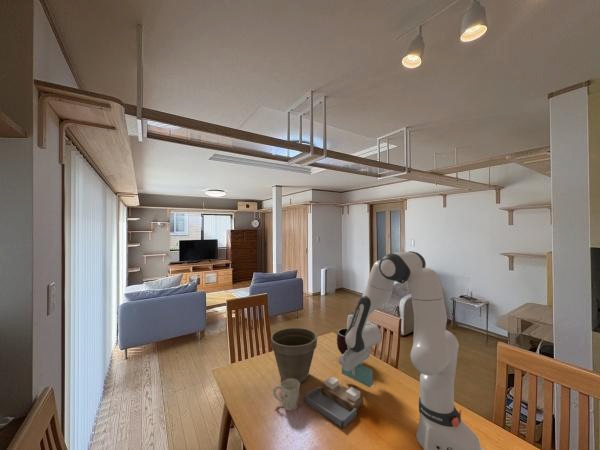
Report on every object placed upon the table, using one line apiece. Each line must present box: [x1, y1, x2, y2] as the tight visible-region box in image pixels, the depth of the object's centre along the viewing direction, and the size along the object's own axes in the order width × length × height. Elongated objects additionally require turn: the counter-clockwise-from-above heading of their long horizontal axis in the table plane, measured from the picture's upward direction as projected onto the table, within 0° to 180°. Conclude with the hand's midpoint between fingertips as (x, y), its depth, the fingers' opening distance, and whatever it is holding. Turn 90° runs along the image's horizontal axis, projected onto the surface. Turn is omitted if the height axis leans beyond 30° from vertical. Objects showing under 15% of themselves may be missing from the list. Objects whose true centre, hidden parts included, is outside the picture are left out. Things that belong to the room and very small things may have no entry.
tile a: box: [346, 386, 361, 402], centre depth 112 cm, size 4×4×2 cm
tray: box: [303, 385, 358, 430], centre depth 110 cm, size 22×10×3 cm, turn 44°
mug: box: [272, 378, 301, 412], centre depth 112 cm, size 8×13×10 cm, turn 78°
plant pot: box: [270, 327, 318, 384], centre depth 135 cm, size 25×25×22 cm
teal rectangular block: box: [341, 364, 374, 388], centre depth 125 cm, size 16×3×7 cm, turn 44°
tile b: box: [324, 376, 340, 389], centre depth 121 cm, size 4×4×2 cm
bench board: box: [320, 383, 364, 411], centre depth 116 cm, size 18×8×4 cm, turn 44°
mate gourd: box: [336, 327, 348, 366], centre depth 149 cm, size 16×14×20 cm
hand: (356, 372), depth 125 cm, fingers closed on teal rectangular block, 3 cm apart
